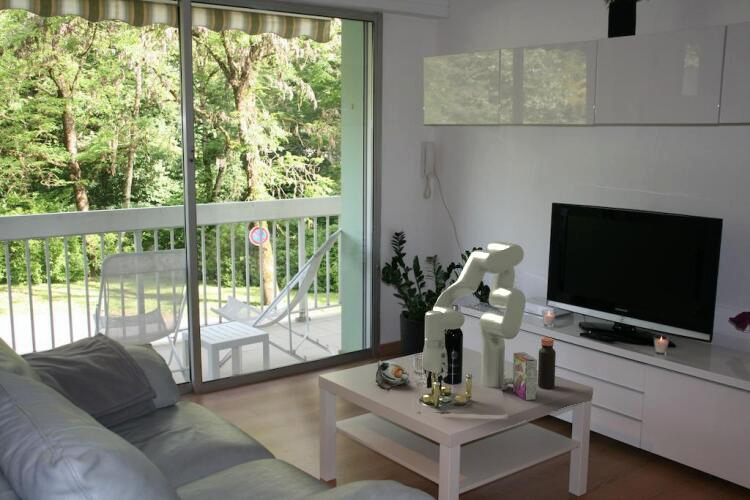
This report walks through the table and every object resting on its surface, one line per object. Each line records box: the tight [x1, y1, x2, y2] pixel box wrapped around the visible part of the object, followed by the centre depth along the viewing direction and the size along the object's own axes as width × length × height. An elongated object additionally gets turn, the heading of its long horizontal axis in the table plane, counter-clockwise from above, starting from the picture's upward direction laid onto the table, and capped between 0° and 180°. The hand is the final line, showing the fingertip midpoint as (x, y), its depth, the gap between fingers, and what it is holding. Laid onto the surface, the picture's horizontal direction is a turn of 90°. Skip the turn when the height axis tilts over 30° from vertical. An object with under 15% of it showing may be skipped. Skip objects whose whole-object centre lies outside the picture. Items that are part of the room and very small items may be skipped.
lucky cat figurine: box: [375, 360, 410, 390], centre depth 321 cm, size 15×12×14 cm
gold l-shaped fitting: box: [422, 382, 440, 406], centre depth 294 cm, size 9×4×10 cm, turn 24°
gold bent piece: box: [455, 373, 473, 405], centre depth 297 cm, size 9×4×10 cm, turn 144°
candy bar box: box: [512, 351, 538, 401], centre depth 308 cm, size 11×5×16 cm, turn 17°
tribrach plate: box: [418, 392, 472, 415], centre depth 300 cm, size 20×20×3 cm
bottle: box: [537, 337, 557, 390], centre depth 320 cm, size 7×7×20 cm
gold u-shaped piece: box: [430, 373, 452, 396], centre depth 304 cm, size 9×4×10 cm, turn 127°
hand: (434, 388), depth 302 cm, fingers open, 3 cm apart
